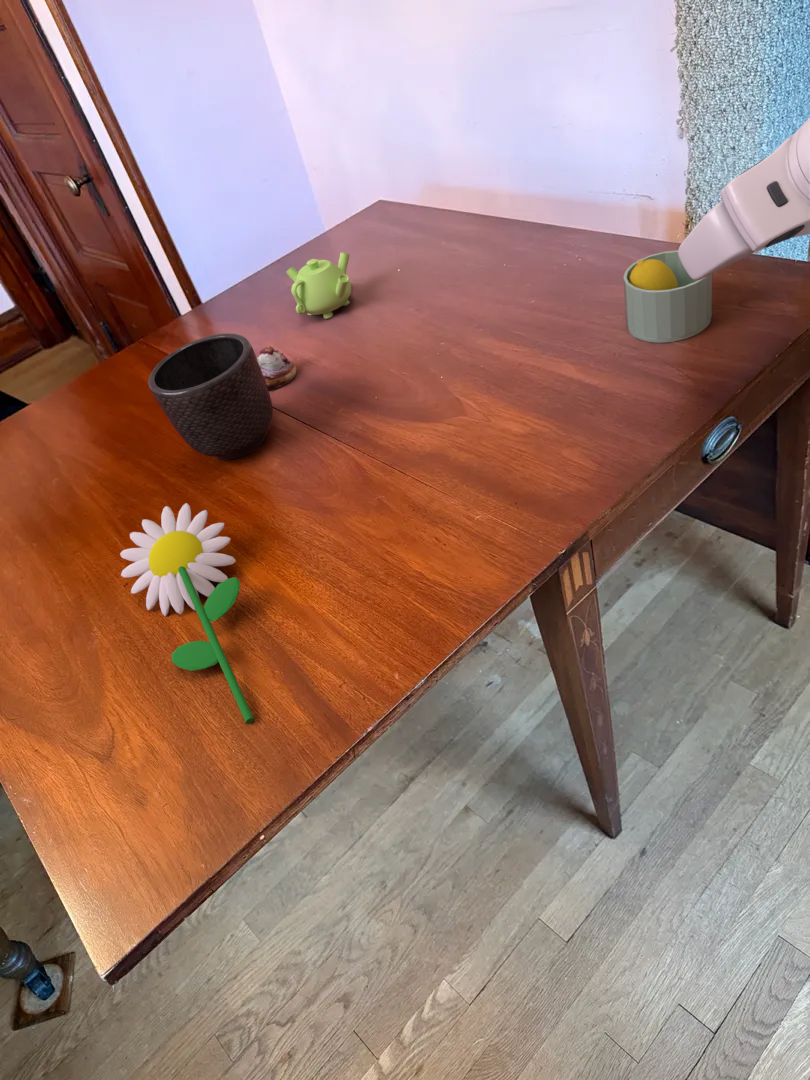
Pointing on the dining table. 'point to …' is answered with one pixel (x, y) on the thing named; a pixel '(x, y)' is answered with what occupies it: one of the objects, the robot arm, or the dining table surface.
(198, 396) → the planter
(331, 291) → the teapot
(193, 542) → the decorative flower
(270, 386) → the pastry
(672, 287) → the lemon
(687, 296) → the cup
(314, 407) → the dining table surface
